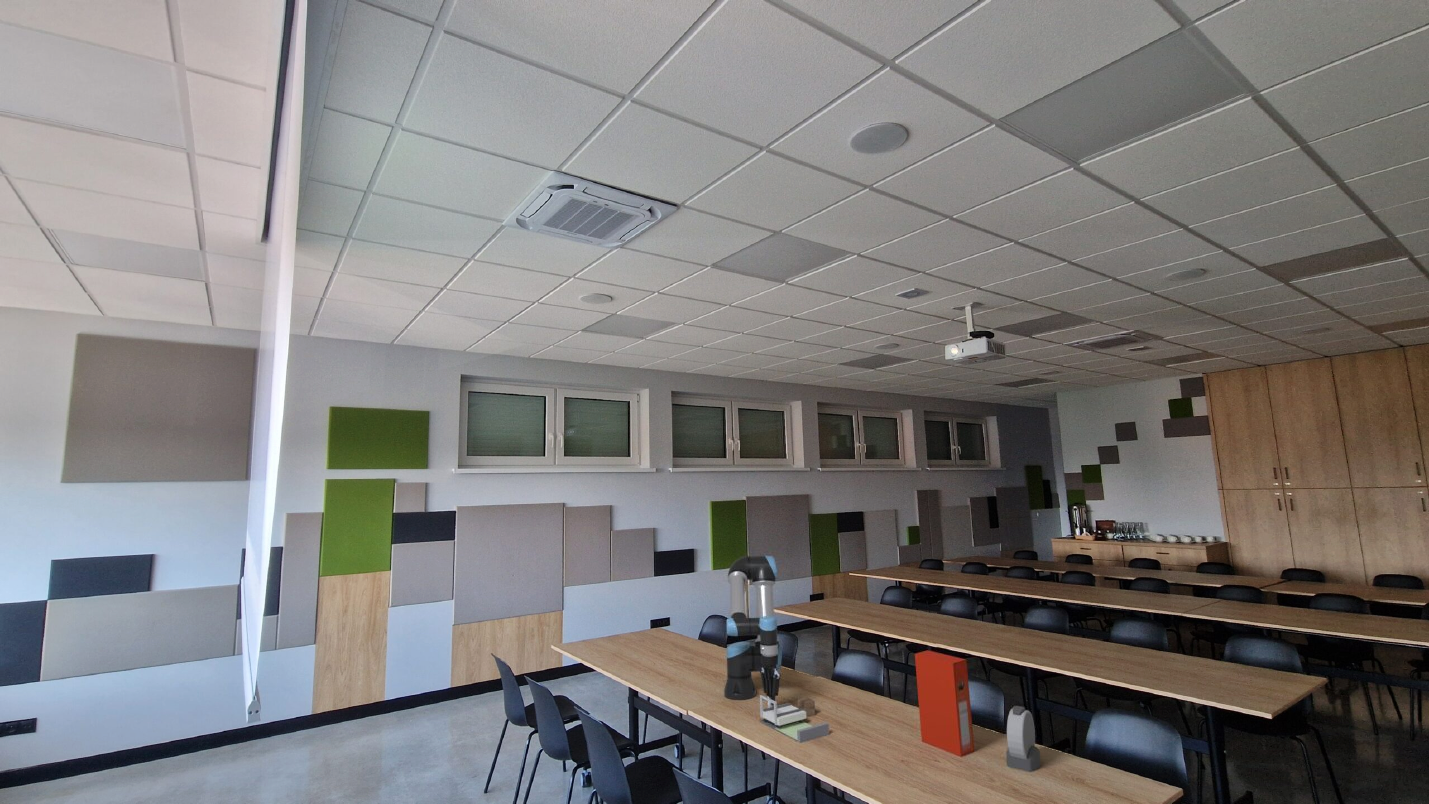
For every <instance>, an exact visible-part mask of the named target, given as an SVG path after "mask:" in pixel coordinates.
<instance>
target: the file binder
mask: <svg viewBox="0 0 1429 804" xmlns="http://www.w3.org/2000/svg"><path fill="white" fill-rule="evenodd" d="M914 659H915V671H916V672H915V674H916V684H917V685H916V686H917V698H918V699H917V700H918V709H919V711H918V712H919V723H920V725H919V726H920V736H921V742H922V743H924V744H928V745H930V746H933V747H936V748H937V749H940V750H943V751H945V752H948V753H950V754H953V755H955V756H958V757H960V758H962V757H964V756H967V755H969V754H971V753H973V752H975V743H974V742H975V741H974V729H973V719H972V709H971V696H970V686H969V685H970V684H969V674H968V664H967V663H968V661H967V659H965V658H961V657H957V656H953V655H949V654H944V653H941V652H936V651H934V650H933V651H932V650H929V649H928V650H924V651H920V652H917V653H916V652H915V653H914Z"/></svg>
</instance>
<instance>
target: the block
mask: <svg viewBox="0 0 1429 804" xmlns="http://www.w3.org/2000/svg"><path fill="white" fill-rule="evenodd" d="M815 702H816V701H815V700H814V699H812V698H809V697H803V698H799V699H797V704H798V705H797V708H799V709H800V708H802V710H803V711H805V712H806V719H807V718H809V717H810V718H811V717H813V716H816V703H815Z"/></svg>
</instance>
